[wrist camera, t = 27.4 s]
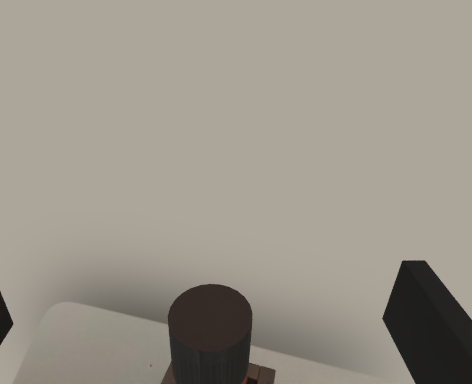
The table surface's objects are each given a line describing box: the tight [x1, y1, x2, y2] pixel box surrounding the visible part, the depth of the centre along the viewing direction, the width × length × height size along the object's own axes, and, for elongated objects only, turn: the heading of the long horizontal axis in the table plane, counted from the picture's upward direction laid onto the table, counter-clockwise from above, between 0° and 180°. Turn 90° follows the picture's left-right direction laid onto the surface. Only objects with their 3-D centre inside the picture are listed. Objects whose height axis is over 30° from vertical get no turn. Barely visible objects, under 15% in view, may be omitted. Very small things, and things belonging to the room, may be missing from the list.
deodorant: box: [168, 284, 252, 384], centre depth 28 cm, size 6×6×15 cm
